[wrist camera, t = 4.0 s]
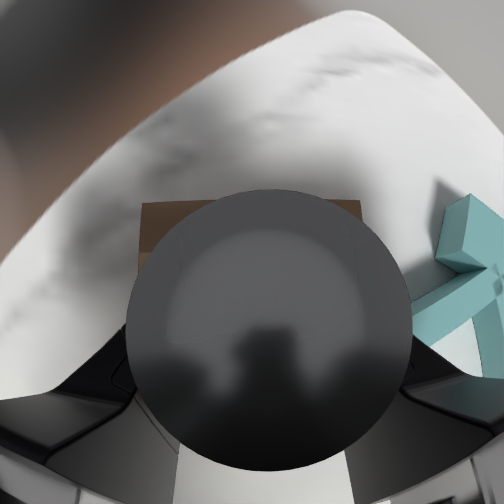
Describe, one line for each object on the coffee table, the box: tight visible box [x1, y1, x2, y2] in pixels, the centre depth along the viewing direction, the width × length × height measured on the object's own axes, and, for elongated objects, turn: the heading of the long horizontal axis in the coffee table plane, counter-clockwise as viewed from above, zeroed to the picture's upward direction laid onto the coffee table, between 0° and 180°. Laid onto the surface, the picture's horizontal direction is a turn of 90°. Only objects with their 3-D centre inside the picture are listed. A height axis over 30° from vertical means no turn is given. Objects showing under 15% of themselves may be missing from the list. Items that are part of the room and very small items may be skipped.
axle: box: [126, 190, 413, 471], centre depth 10 cm, size 4×4×13 cm
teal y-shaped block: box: [410, 193, 504, 379], centre depth 15 cm, size 10×13×3 cm
